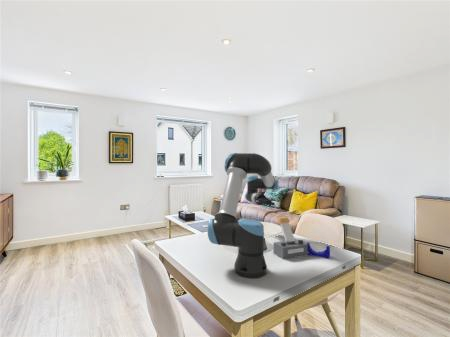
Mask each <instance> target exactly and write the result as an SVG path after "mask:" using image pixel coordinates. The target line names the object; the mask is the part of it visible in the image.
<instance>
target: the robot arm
mask: <svg viewBox="0 0 450 337" xmlns="http://www.w3.org/2000/svg"><path fill="white" fill-rule="evenodd" d="M224 161H225V162H224V171H225V172H226V176H227V179H226V183H225V187H224V192H223V195H222V198H221V203H220V207H219V212H217V213H216V214H215V215H214V217H213V218H210V219H209V221H208V224H207V237H208V240H209V242H210V243H212V244H214V245H218V246H227V247H236V248H237V250H238V252H237V257H236V259H235V262H234V265H233V266H234V268H233V270H234V273H236V274H237V275H238V276H240V277H244V278H249V279H257V278H261V277H264V276H266V275H267V273H268V265H267V262H266V259H265V255H264V250H265V249H264V242H265V240H264V238H265V228H264V224H263V223H262V222H261V221H259V220H256V219H253V218H248V217H247V218H246V217H244V218H243V217H242V218H240V219H238V217H237V216H236V215H237V210H238V206H239V200H240V195H241V191H242V187H243V181H244V179H246V178H247V183H246V184H247V186H246V187H247V191H246V193H245V194H244V198H245V200H246V201H247V202H250V203H252V204H256V205H258V206H269V207H272V206H273V207H277V208H280V205H281V204H280V203H281V202H279V201H277V200H276V199H274V198H268V197H267V196H266V195H265V194H263V193H259V192H258V191H259V189H260V190H273V191H275V190H278V189H279V184H280V183H279V179H277V178H275V177H274V175H273V172H272V165H271V163H270V161H269V159H267V158H266V157H265V156H263V155H261V154H258V153H255V152H254V153H253V152H252V153H247V152H246V153H241V152H240V153H238V152H234V153H229V154H228V155H227V156H226V158H225V160H224ZM248 174H250V175H248ZM251 174H252V175H251ZM254 174H255V175H254ZM259 177H260V178H259Z"/></svg>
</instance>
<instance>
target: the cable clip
mask: <svg viewBox="0 0 450 337" xmlns="http://www.w3.org/2000/svg"><path fill="white" fill-rule="evenodd" d="M305 243H306V244H308V255H307V256H312V257H316V258H317V257H318V258H322V259H328V260H329V259H330V257H331V246H330V245H326V247H325V250H323V251H322V250H321V251H315V250H314V249H313V248H312V247H311V245H310V242H305Z"/></svg>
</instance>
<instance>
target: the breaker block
mask: <svg viewBox="0 0 450 337" xmlns="http://www.w3.org/2000/svg"><path fill="white" fill-rule="evenodd" d="M306 243H307V242H305V241H304V240H303V239H295V243H288V244H287V243H286V241H285V240H283V241H282V240H281V241H274V242H273V252H272V253H273V254H274V255H276V256H277V257H278V258H280V259H282V260H285V259H291V258H297V257H298V258H299V257H306V256H309V255H308V253H309V252H308V244H306Z"/></svg>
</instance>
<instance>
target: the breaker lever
mask: <svg viewBox="0 0 450 337" xmlns="http://www.w3.org/2000/svg"><path fill="white" fill-rule="evenodd" d="M277 222H278V225H280V228H281V232H282V234H283V238H284V241H286V243H287V244H288V243H295V240H296V239H295V236H294V234H293V231H292V228H291V226H290V219H289V217H284V218H281V217H280V218H279V219H277Z"/></svg>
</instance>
